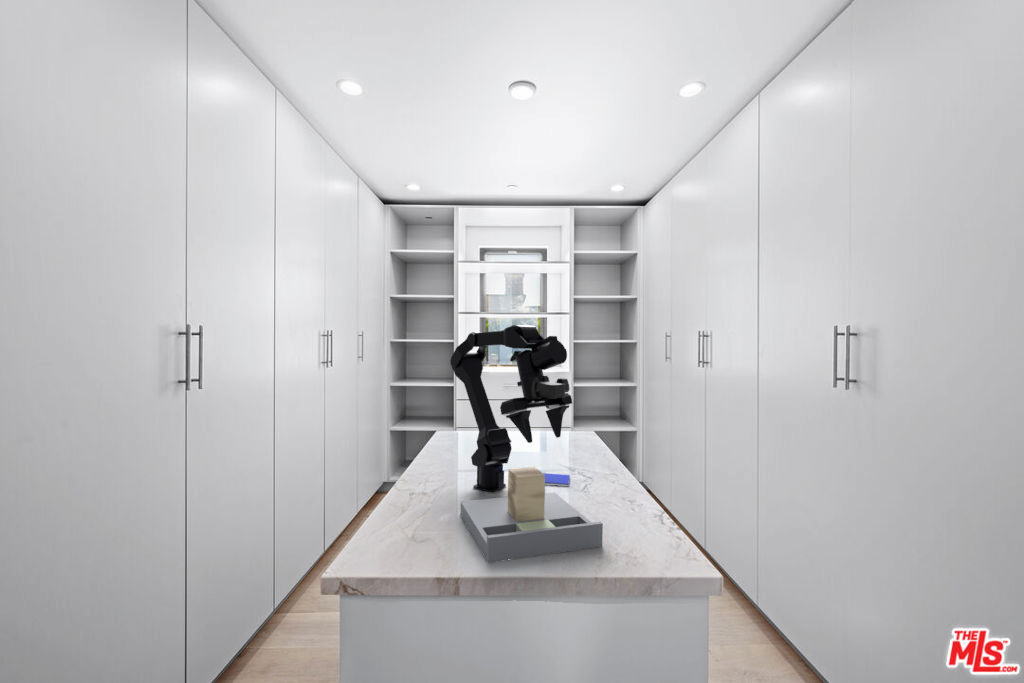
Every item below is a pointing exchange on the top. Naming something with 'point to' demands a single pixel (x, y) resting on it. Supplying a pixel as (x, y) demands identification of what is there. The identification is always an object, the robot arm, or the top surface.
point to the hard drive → (556, 479)
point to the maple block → (526, 493)
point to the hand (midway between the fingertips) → (544, 439)
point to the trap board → (529, 529)
